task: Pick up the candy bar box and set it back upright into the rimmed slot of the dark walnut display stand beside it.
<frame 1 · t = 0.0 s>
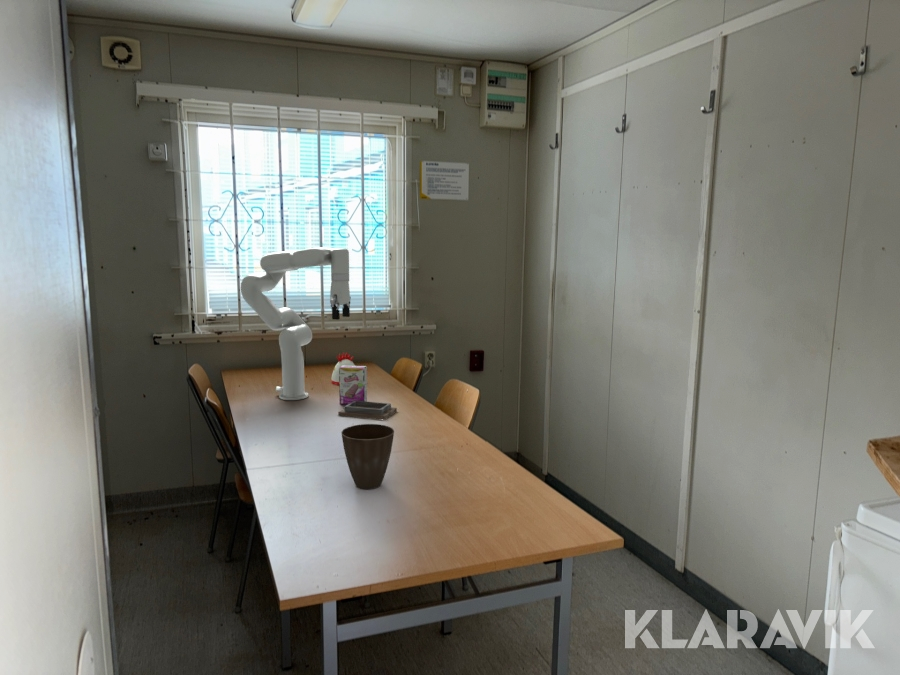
hand: (341, 318, 264), 37 cm above the table, tool pointing down, fingers open, 9 cm apart
plant pot: (368, 485, 179), on the table
candy bar box: (353, 404, 266), on the table
kitchen timer: (345, 382, 306), on the table
stand: (367, 413, 252), on the table
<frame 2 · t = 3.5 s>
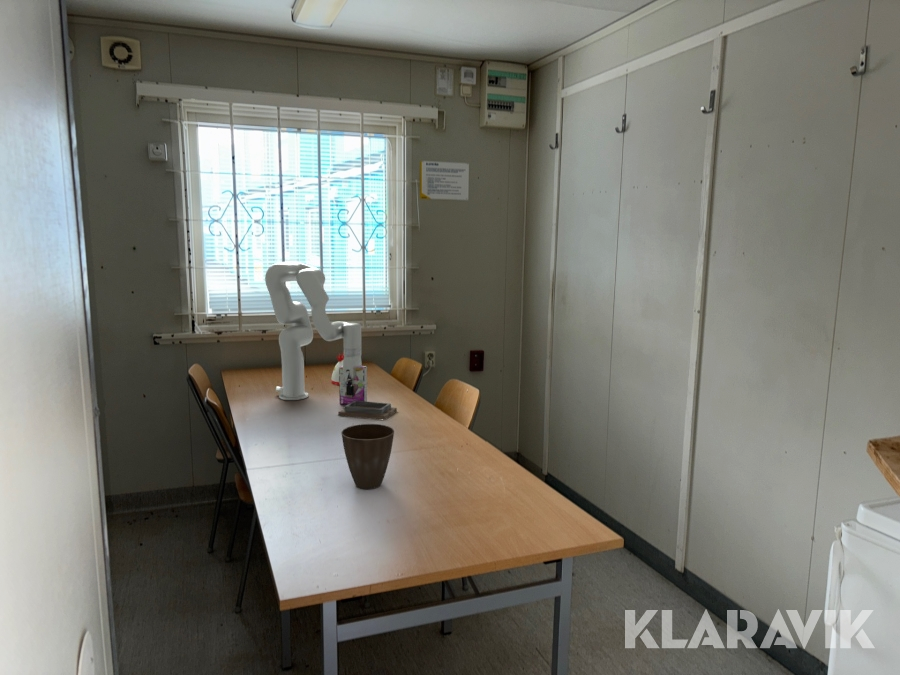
hand: (353, 393, 266), 5 cm above the table, tool pointing down, fingers closed on candy bar box, 5 cm apart
candy bar box: (353, 404, 266), on the table, touching gripper
everything else where it was.
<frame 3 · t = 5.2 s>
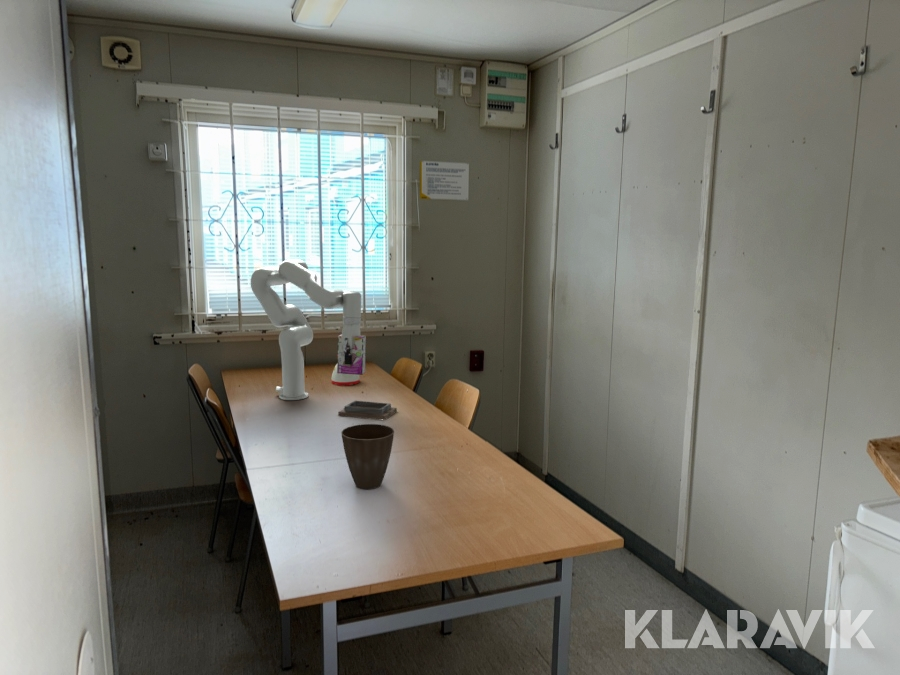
hand: (351, 362, 264), 18 cm above the table, tool pointing down, fingers closed on candy bar box, 5 cm apart
candy bar box: (351, 373, 264), point 13 cm above the table, touching gripper
everything else where it was.
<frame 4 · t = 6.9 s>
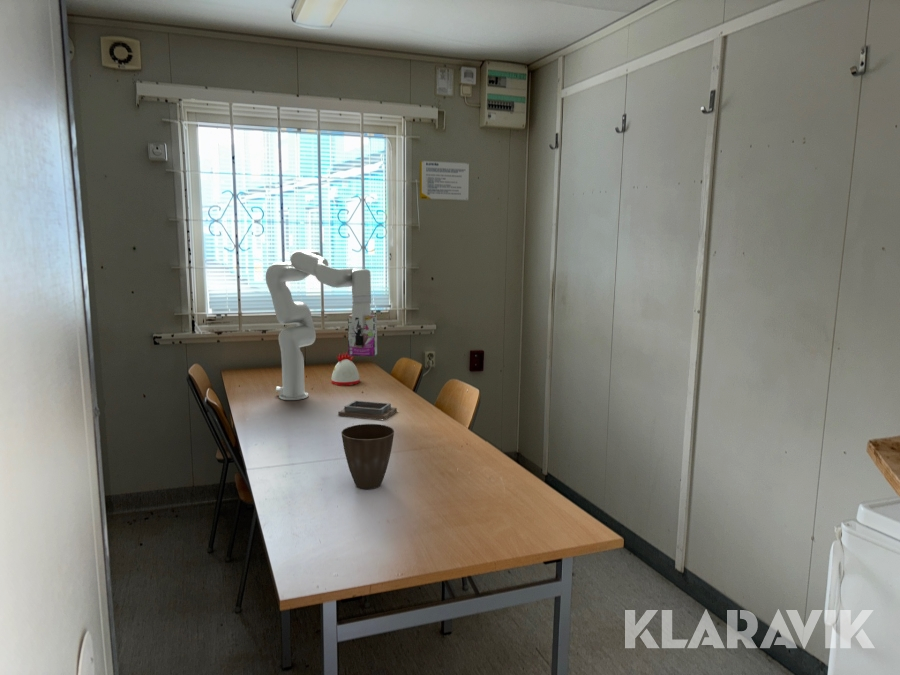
hand: (362, 343, 252), 28 cm above the table, tool pointing down, fingers closed on candy bar box, 5 cm apart
candy bar box: (363, 355, 253), point 23 cm above the table, touching gripper
everything else where it was.
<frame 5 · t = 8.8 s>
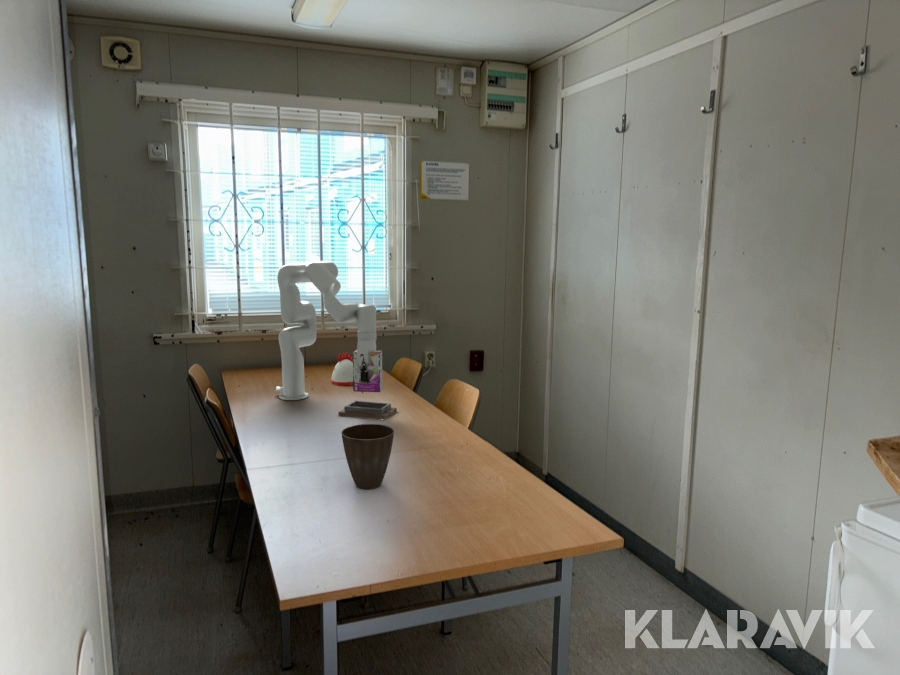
hand: (367, 379, 249), 14 cm above the table, tool pointing down, fingers closed on candy bar box, 5 cm apart
candy bar box: (368, 391, 250), point 9 cm above the table, touching gripper
everything else where it was.
when the fingers open (7 cm above the table, at t = 10.6 s): candy bar box drops 1 cm, resting on stand.
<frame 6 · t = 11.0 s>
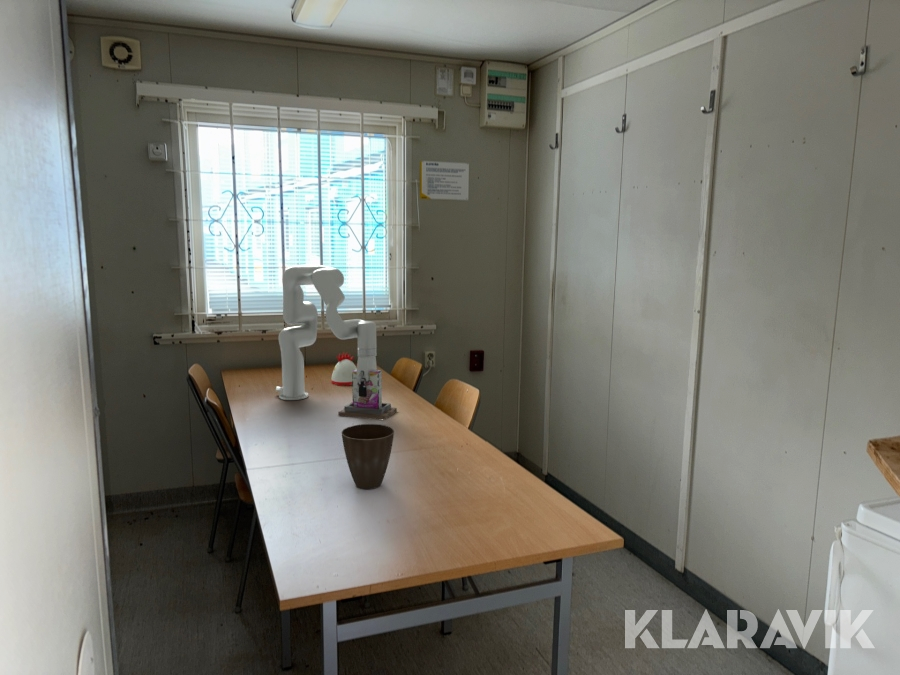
hand: (367, 393, 250), 8 cm above the table, tool pointing down, fingers open, 9 cm apart
candy bar box: (367, 410, 251), point 1 cm above the table, touching stand
everything else where it was.
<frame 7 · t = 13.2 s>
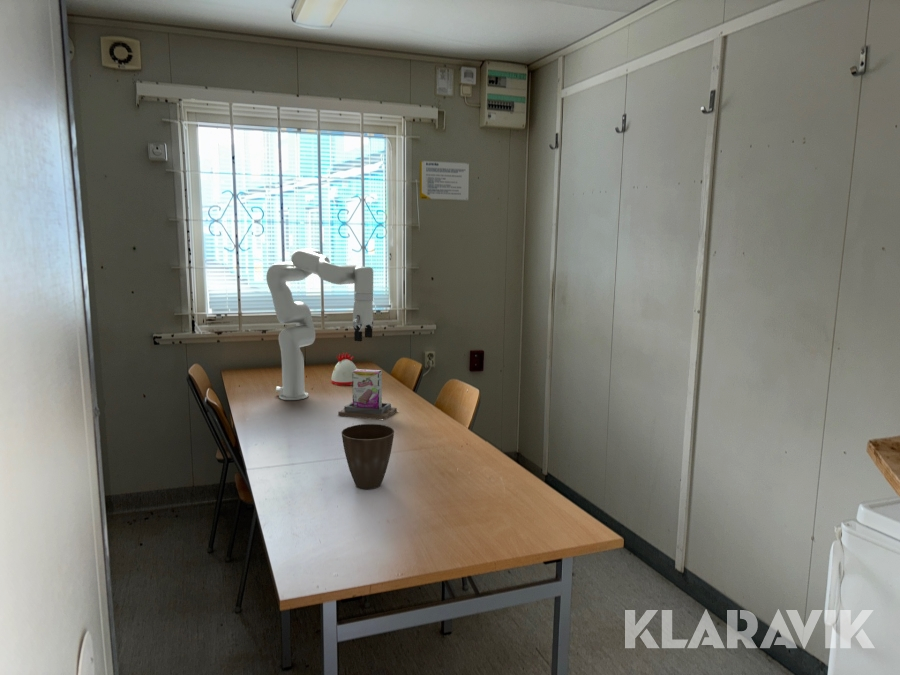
hand: (363, 339, 252), 30 cm above the table, tool pointing down, fingers open, 9 cm apart
nothing on the table moved.
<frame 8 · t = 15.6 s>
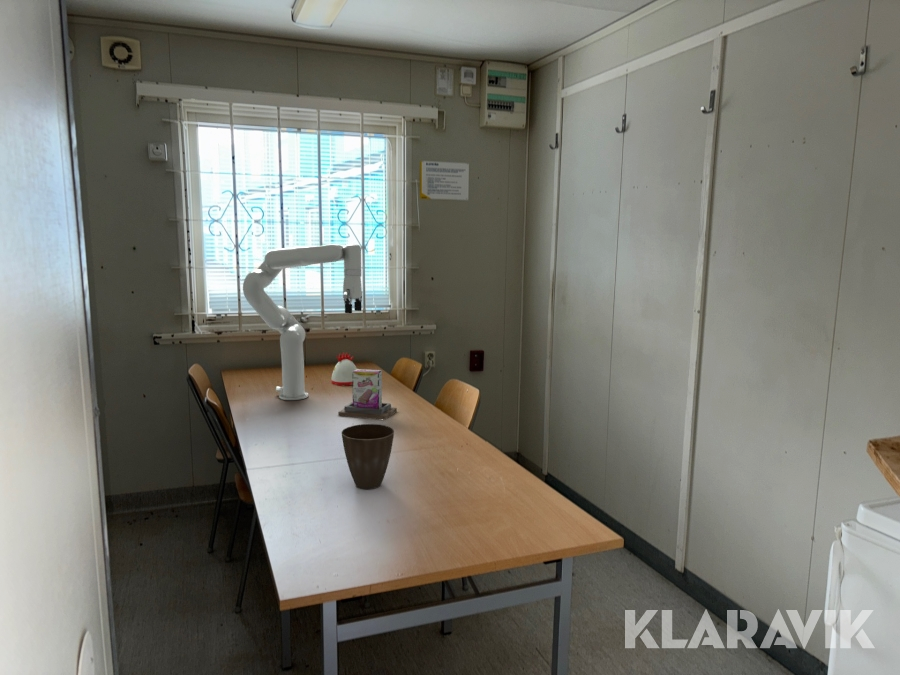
hand: (353, 311, 273), 38 cm above the table, tool pointing down, fingers open, 9 cm apart
nothing on the table moved.
at the end: candy bar box 0.1 cm off-centre on the stand, point 1.3 cm above the stand's base; candy bar box tilted 0°; the gripper is holding nothing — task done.
